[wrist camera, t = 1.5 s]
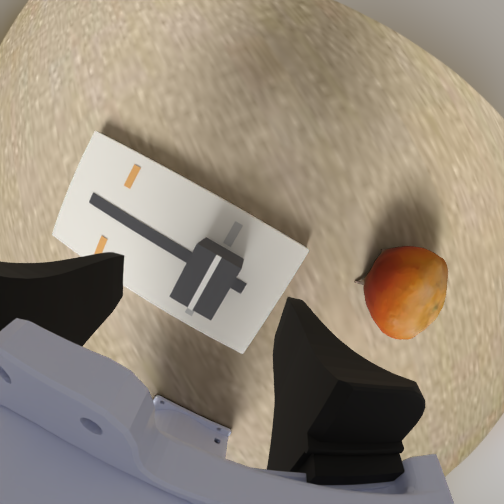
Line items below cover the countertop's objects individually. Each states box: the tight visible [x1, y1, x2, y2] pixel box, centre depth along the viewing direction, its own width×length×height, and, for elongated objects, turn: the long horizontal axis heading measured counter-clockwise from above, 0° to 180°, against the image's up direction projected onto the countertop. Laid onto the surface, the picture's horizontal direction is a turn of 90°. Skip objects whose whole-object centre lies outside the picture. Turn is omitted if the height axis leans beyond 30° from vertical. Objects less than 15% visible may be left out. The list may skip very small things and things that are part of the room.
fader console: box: [52, 131, 309, 354], centre depth 24 cm, size 22×11×2 cm, turn 60°
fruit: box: [355, 246, 448, 339], centre depth 22 cm, size 8×8×8 cm
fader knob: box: [169, 237, 244, 320], centre depth 22 cm, size 4×4×4 cm
